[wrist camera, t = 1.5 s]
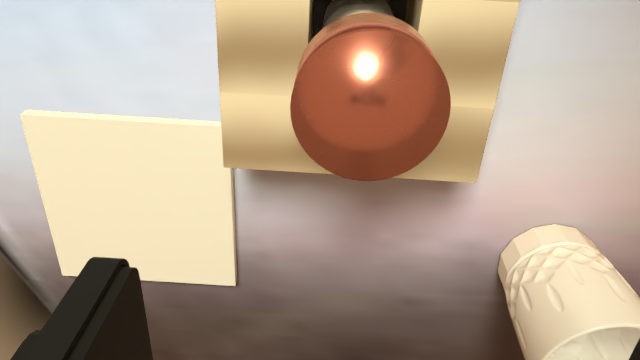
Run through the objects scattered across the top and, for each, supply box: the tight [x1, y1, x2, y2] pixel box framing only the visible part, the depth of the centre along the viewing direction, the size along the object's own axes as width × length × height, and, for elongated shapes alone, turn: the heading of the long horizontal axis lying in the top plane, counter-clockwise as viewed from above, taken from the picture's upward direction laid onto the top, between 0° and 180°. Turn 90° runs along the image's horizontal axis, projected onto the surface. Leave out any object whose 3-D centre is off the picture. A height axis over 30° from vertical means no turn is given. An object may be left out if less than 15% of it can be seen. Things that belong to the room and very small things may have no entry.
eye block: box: [215, 0, 520, 183], centre depth 27 cm, size 14×14×5 cm
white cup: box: [498, 224, 640, 360], centre depth 33 cm, size 8×8×10 cm
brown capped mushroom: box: [290, 0, 451, 181], centre depth 23 cm, size 6×6×13 cm
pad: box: [20, 110, 237, 286], centre depth 35 cm, size 13×13×1 cm
